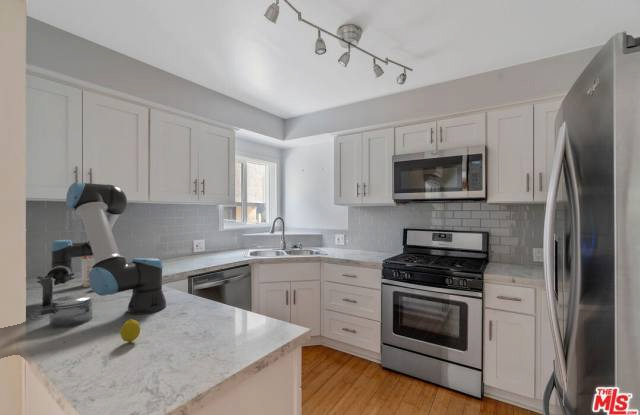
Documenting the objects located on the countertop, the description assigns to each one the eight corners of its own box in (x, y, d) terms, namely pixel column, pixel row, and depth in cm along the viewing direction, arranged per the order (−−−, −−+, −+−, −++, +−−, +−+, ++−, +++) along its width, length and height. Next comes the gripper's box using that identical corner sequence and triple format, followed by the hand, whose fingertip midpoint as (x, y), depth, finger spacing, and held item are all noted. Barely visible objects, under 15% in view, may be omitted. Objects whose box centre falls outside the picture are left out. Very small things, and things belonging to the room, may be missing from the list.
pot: (83, 313, 125) (84, 295, 125) (99, 319, 118) (99, 299, 118) (32, 326, 110) (32, 306, 110) (46, 334, 104) (47, 312, 104)
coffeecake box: (110, 280, 184) (110, 250, 184) (114, 282, 180) (114, 251, 180) (81, 285, 172) (81, 253, 172) (84, 287, 168) (85, 254, 168)
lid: (79, 294, 124) (79, 269, 124) (100, 298, 120) (100, 271, 120) (30, 307, 108) (30, 278, 109) (52, 311, 104) (52, 280, 104)
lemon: (125, 348, 93) (125, 323, 93) (117, 343, 96) (117, 320, 96) (143, 341, 98) (143, 318, 98) (135, 337, 101) (135, 315, 101)
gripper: (76, 280, 140) (71, 291, 121) (39, 284, 133) (28, 297, 114) (76, 265, 140) (71, 274, 121) (39, 268, 133) (28, 278, 114)
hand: (50, 285), depth 117 cm, fingers closed
